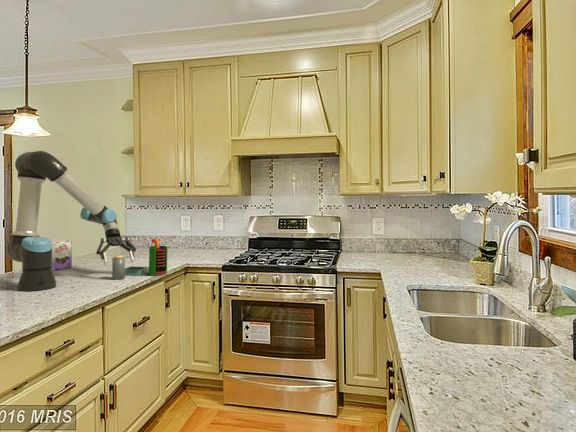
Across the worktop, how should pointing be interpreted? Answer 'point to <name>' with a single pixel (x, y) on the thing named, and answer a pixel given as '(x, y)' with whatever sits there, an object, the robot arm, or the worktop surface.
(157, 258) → the motor
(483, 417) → the worktop surface
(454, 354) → the worktop surface
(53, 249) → the candy box
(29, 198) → the robot arm
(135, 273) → the teal square tray
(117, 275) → the grey cylindrical canister
